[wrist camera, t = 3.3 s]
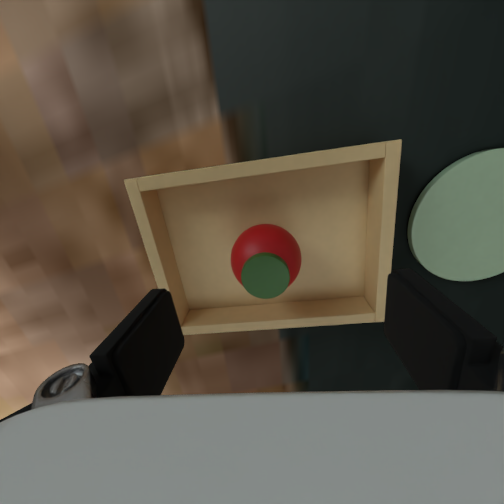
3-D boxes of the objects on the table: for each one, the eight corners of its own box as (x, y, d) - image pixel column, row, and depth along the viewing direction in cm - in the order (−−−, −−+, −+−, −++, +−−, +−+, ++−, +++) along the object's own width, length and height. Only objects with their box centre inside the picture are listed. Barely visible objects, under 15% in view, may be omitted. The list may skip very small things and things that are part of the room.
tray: (184, 313, 21) (173, 336, 18) (145, 176, 17) (122, 179, 14) (370, 299, 19) (387, 321, 17) (379, 142, 15) (402, 139, 12)
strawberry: (240, 274, 18) (231, 315, 14) (231, 219, 17) (216, 243, 12) (298, 269, 18) (309, 309, 13) (294, 211, 16) (305, 234, 12)
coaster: (401, 282, 18) (405, 286, 18) (414, 159, 15) (419, 159, 15) (531, 271, 17) (539, 275, 17) (574, 137, 14) (586, 136, 14)
